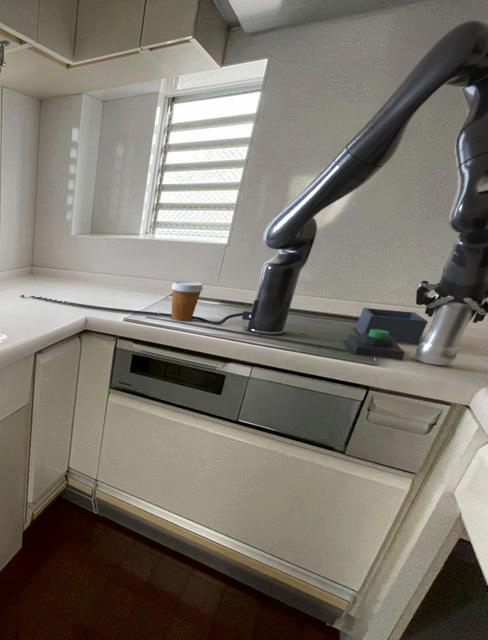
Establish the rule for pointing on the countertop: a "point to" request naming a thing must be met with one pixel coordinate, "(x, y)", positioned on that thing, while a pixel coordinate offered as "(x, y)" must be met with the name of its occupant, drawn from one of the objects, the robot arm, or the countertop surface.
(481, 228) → the robot arm
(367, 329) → the basket
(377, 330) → the button
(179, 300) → the disposable coffee cup
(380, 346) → the control block
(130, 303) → the countertop surface
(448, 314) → the silver metal bottle
